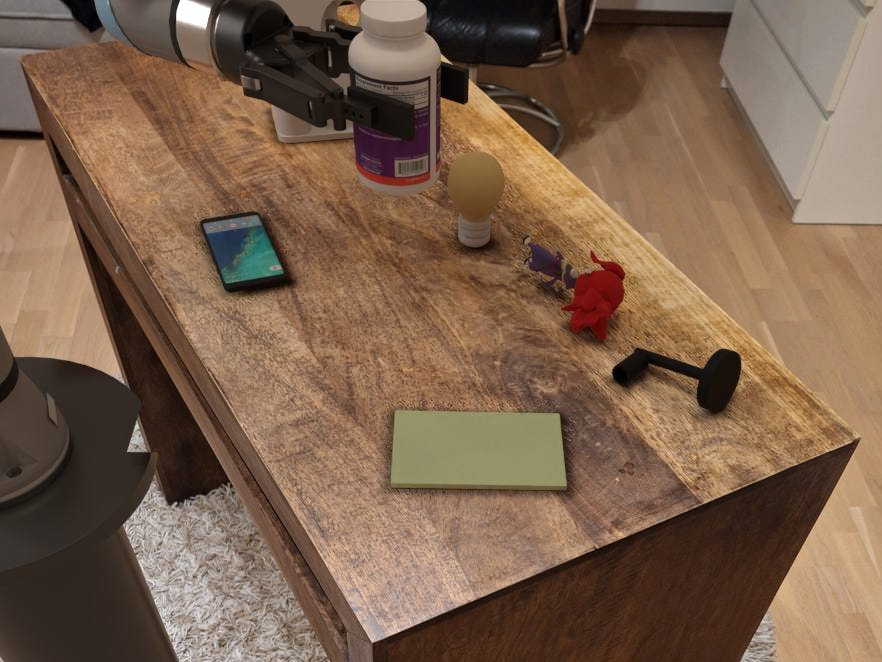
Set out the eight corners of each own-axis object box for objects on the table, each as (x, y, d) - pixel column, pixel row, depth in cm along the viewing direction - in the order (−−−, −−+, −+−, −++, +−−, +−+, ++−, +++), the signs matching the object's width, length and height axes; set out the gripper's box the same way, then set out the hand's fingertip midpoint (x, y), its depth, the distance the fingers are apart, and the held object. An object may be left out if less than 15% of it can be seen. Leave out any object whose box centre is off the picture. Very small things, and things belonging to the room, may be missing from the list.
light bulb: (506, 231, 107) (511, 145, 99) (494, 260, 104) (499, 173, 96) (454, 223, 108) (455, 137, 100) (440, 251, 104) (441, 164, 96)
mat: (390, 487, 82) (390, 483, 81) (395, 414, 87) (395, 409, 87) (566, 490, 82) (567, 485, 82) (559, 418, 88) (559, 413, 88)
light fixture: (576, 423, 91) (653, 365, 96) (662, 458, 85) (739, 394, 91) (573, 370, 87) (654, 313, 92) (664, 403, 81) (744, 340, 86)
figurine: (547, 257, 103) (647, 317, 97) (495, 299, 101) (595, 363, 95) (544, 208, 97) (651, 269, 92) (489, 252, 95) (595, 317, 90)
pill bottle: (385, 151, 90) (379, -19, 78) (455, 174, 88) (459, 3, 76) (339, 185, 86) (325, 10, 74) (411, 210, 84) (408, 34, 72)
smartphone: (258, 209, 107) (289, 278, 99) (259, 215, 107) (290, 284, 99) (197, 218, 105) (224, 289, 97) (199, 225, 106) (225, 295, 97)
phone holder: (276, 144, 118) (254, -18, 103) (268, 108, 123) (245, -50, 109) (407, 133, 121) (402, -26, 106) (392, 99, 126) (386, -56, 112)
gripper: (311, 46, 94) (498, 107, 87) (171, 121, 83) (373, 196, 77) (302, -40, 88) (503, 18, 81) (150, 29, 77) (368, 102, 71)
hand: (439, 104), depth 79 cm, fingers closed on pill bottle, 8 cm apart
